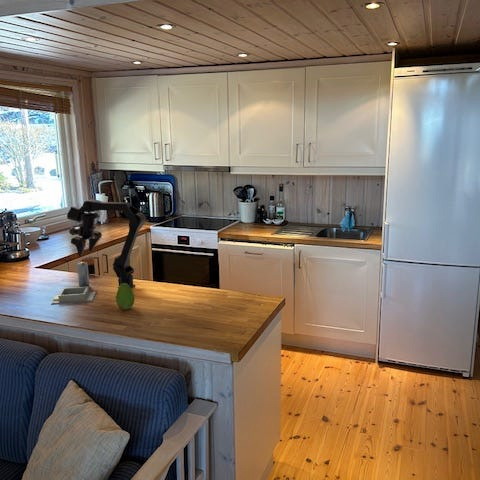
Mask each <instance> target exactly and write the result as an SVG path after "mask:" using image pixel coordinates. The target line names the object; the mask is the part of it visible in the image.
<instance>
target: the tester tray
mask: <svg viewBox="0 0 480 480" xmlns="http://www.w3.org/2000/svg"><path fill="white" fill-rule="evenodd" d="M96 294H97V292H96V291H90V290H89V288H88V287H79V286H77V287H63V288H62V290H60V292H59V293H58V294H56V295H55V296H54V297H53V299H52V301H51V305H61V304H76V303H77V304H78V303H88V302H94V301H93V300H94V299H95V296H96Z"/></svg>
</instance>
